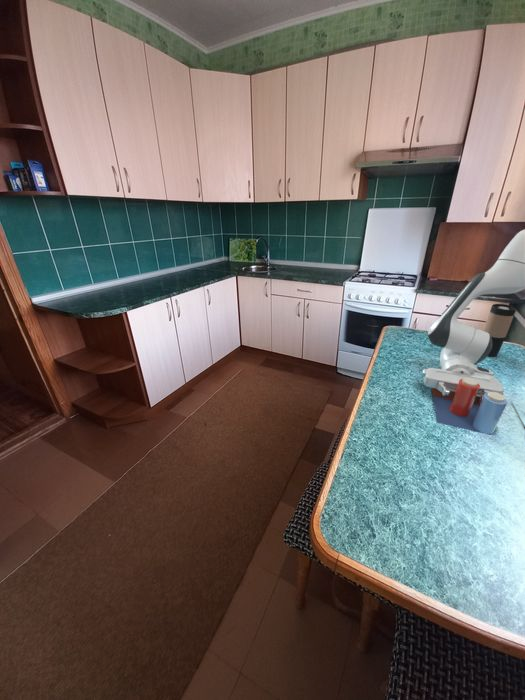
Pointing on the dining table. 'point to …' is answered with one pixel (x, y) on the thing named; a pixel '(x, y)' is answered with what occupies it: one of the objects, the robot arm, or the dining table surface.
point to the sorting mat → (448, 417)
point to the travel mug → (498, 325)
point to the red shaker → (464, 397)
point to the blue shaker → (489, 412)
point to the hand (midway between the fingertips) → (464, 397)
